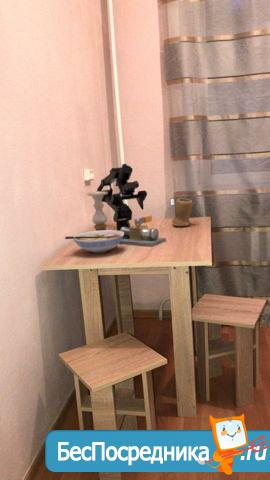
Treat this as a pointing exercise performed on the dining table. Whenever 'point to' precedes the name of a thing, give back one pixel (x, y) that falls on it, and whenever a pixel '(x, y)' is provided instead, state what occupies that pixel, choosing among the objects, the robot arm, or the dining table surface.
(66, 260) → the dining table surface
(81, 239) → the ramen bowl
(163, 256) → the dining table surface
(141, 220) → the valve lever
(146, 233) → the valve assembly
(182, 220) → the stone cup
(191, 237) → the dining table surface
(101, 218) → the candle holder
